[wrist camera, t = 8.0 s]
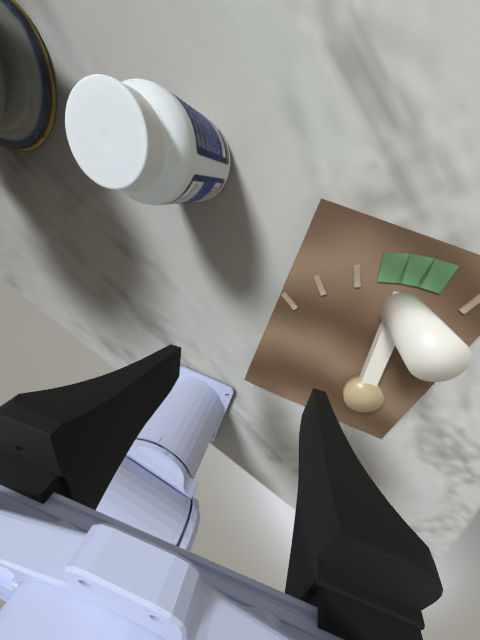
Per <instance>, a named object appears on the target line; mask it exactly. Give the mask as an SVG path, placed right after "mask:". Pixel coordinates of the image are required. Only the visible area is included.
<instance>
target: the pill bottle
mask: <svg viewBox="0 0 480 640" xmlns="http://www.w3.org/2000/svg"><path fill="white" fill-rule="evenodd" d="M65 128H66V134H67V139H68V142H69V146H70V148H71V151H72V153H73V155H74V157H75V159H76V161H77V163H78V164H79V166H80V167H81V169H82V170H83V171H84V173H85V174H86V175H87V176H88V177H89V178H90V179H92V180H93V181H94V182H95V183H97V184H99V185H100V186H102V187H105V188H107V189H112V190H121V191H122V192H123V193H124V194H125V195H127V196H128V197H130V198H131V199H133V200H135V201H138V202H140V203H143V204H149V205H165V204H179V203H193V202H202V201H206V200H209V199H211V198H213V197H214V196H216V195H217V194H218V193H219V192H220V191H221V190H222V188H223V187H224V185H225V184H226V181H227V178H228V175H229V170H230V151H229V147H228V144H227V141H226V139H225V137H224V135H223V133H222V132H221V131H220V129H219V128H218V127H217V126H216V125H215V124H214V123H213V122H212V121H210V120H209V119H207V118H206V117H205V116H203V115H202V114H200V113H199V112H197V111H196V110H195V109H193V108H192V107H190V106H189V105H188V104H186V103H185V102H183V101H182V100H181V99H179V98H178V97H176V96H175V95H174V94H172V93H171V92H170V91H168V90H166V89H165V88H163V87H162V86H160V85H158V84H156V83H154V82H151V81H148V80H144V79H129V80H125V81H123V82H120V81H118V80H116V79H114V78H112V77H110V76H106V75H102V74H94V75H90V76H87V77H85V78H83V79H82V80H80V81H79V82H78V83H77V84H76V85H75V87H74V88H73V89H72V91H71V93H70V95H69V98H68V100H67V105H66V112H65Z"/></svg>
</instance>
